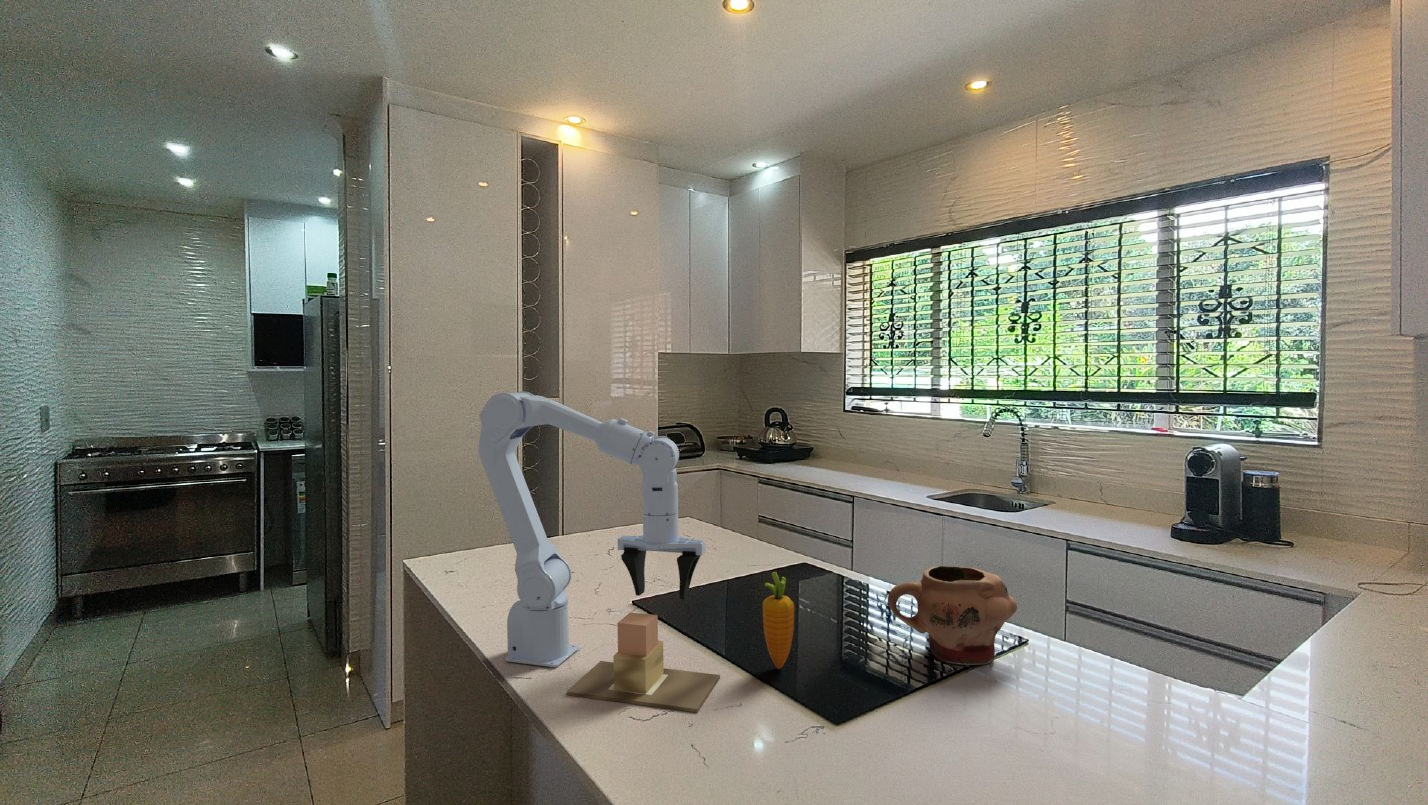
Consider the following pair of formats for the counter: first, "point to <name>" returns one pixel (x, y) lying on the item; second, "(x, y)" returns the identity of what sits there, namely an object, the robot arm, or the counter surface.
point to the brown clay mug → (958, 612)
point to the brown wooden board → (666, 693)
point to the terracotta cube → (637, 634)
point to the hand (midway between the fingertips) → (661, 595)
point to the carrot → (778, 622)
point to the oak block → (638, 670)
